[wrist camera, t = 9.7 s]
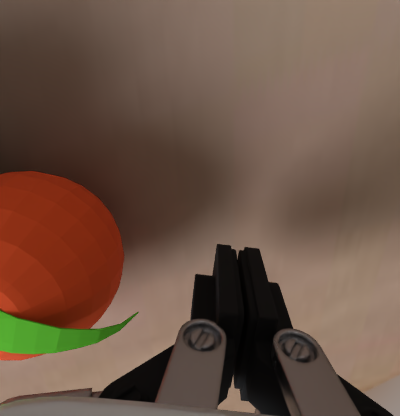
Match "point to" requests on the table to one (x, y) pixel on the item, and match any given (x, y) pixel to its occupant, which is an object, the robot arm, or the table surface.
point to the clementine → (54, 265)
